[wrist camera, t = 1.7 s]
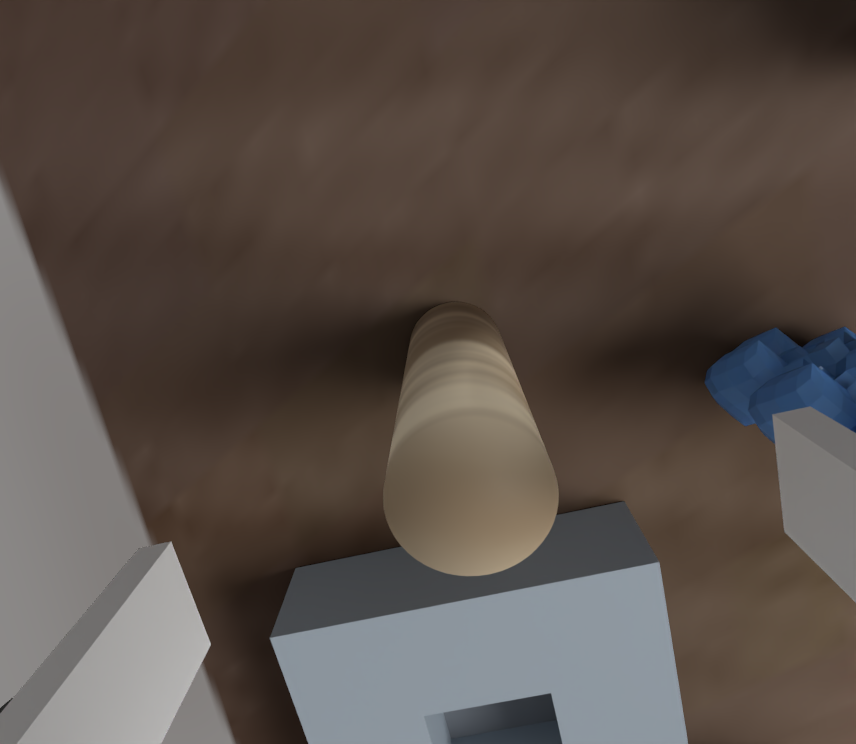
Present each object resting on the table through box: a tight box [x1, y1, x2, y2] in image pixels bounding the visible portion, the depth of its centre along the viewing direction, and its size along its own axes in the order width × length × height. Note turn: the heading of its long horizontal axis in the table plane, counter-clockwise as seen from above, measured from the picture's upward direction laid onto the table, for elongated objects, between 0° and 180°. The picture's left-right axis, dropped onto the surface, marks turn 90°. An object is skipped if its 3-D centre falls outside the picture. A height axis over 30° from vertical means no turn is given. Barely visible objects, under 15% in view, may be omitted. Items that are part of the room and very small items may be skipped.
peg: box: [383, 302, 559, 576], centre depth 21 cm, size 4×4×14 cm
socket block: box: [270, 501, 688, 744], centre depth 31 cm, size 16×16×5 cm
